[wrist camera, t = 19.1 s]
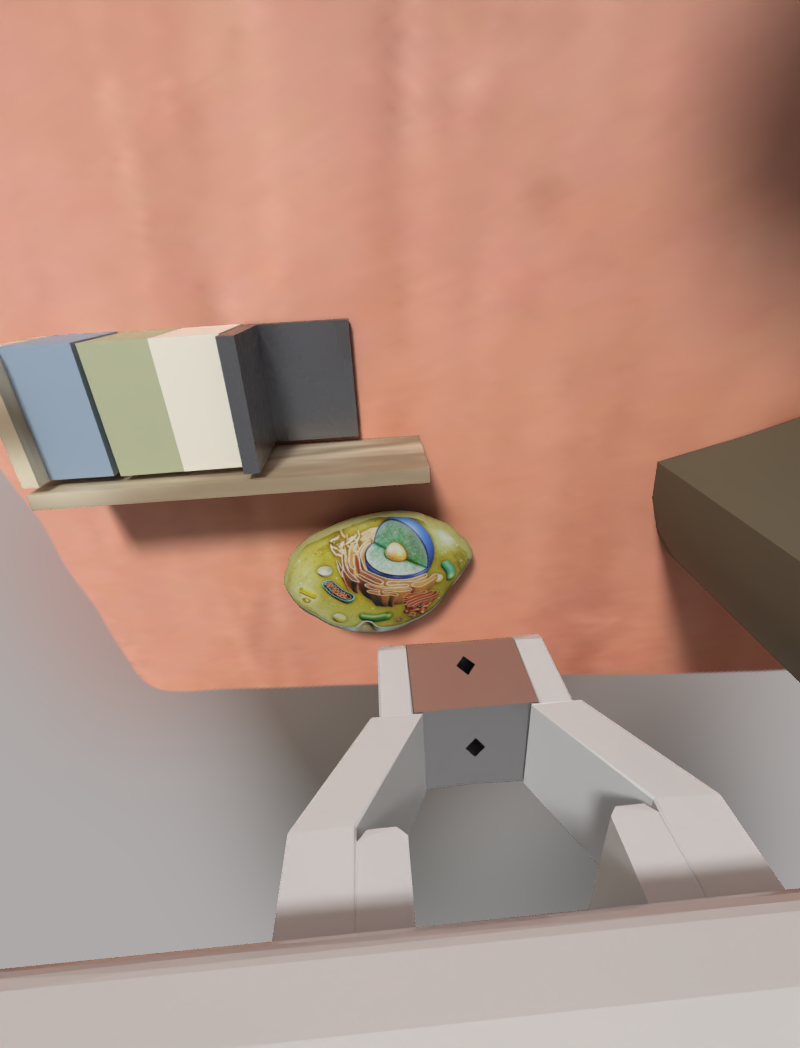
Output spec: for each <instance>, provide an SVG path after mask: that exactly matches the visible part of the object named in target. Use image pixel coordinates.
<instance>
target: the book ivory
mask: <svg viewBox="0 0 800 1048" xmlns="http://www.w3.org/2000/svg"><path fill="white" fill-rule="evenodd" d="M241 325H242V324H234V325H220V326H206V327H192V328H181V329H178V330H174V331H171V332H168V333H165V334H161V335H158V336H155V337H151V338H148V339H147V340H148V344H149V348H150V351H151V355H152V358H153V362H154V365H155V369H156V372H157V376H158V379H159V383H160V386H161V390H162V394H163V397H164V401H165V404H166V408H167V411H168V415H169V418H170V422H171V425H172V429H173V433H174V436H175V440H176V443H177V447H178V450H179V454H180V457H181V461H182V464H183V468H184V472H186V471H198V470H211V469H223V468H236V467H242V463H241V458H240V453H239V448H238V444H237V439H236V434H235V429H234V425H233V420H232V415H231V410H230V406H229V401H228V396H227V391H226V386H225V382H224V377H223V372H222V367H221V363H220V358H219V353H218V348H217V344H216V339H215V336H218V335H220V334H223V333H225V332H227V331H230V330H232V329H234V328H237V327H239V326H241Z"/></svg>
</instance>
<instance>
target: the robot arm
mask: <svg viewBox="0 0 800 1048" xmlns="http://www.w3.org/2000/svg"><path fill="white" fill-rule="evenodd" d="M378 685H379V716H380V717H375V718H371V719H370V720H369V722H368V723H367V724H366V726H365V727H364V728H363V730H362V731H361V733H360V734H359V736H358V737H357V738H356V740H355V741H354V742H353V744H352V745H351V747H350V748H349V749H348V751H347V752H346V754H345V755H344V756H343V758H342V759H341V760H340V762H339V763H338V765H337V766H336V767H335V769H334V770H333V772H332V773H331V774H330V776H329V777H328V778H327V780H326V781H325V783H324V784H323V785H322V787H321V788H320V790H319V791H318V792H317V794H316V795H315V796H314V798H313V799H312V801H311V802H310V803H309V805H308V806H307V808H306V809H305V810H304V812H303V813H302V815H301V816H300V817H299V819H298V820H297V822H296V823H295V824H294V826H293V827H292V828H291V830H290V831H289V833H288V835H287V842H286V849H285V856H284V863H283V869H282V876H281V883H280V891H279V897H278V905H277V911H276V918H275V925H274V932H273V939H272V942H263V943H254V944H244V945H234V946H224V947H214V948H204V949H194V950H185V951H174V952H165V953H155V954H145V955H135V956H126V957H115V958H106V959H95V960H86V961H76V962H66V963H56V964H46V965H37V966H26V967H16V968H6V969H0V1048H800V888H799V889H788V890H785V889H784V887H783V886H782V885H781V883H780V881H779V880H778V879H777V877H776V876H775V874H774V872H773V871H772V870H771V868H770V867H769V865H768V864H767V862H766V861H765V859H764V858H763V856H762V855H761V853H760V852H759V851H758V849H757V848H756V846H755V845H754V843H753V842H752V840H751V839H750V837H749V836H748V834H747V833H746V831H745V830H744V829H743V827H742V826H741V824H740V823H739V821H738V820H737V818H736V817H735V815H734V814H733V812H732V811H731V809H730V808H729V806H728V805H727V804H726V802H725V801H724V799H723V798H722V796H721V795H720V794H719V793H717V792H716V791H715V790H713V789H711V788H710V787H708V786H707V785H706V784H704V783H703V782H701V781H700V780H698V779H697V778H695V777H694V776H693V775H691V774H690V773H688V772H686V771H685V770H684V769H682V768H681V767H679V766H678V765H676V764H675V763H673V762H672V761H671V760H669V759H668V758H666V757H665V756H663V755H662V754H660V753H659V752H657V751H656V750H654V749H653V748H651V747H650V746H649V745H647V744H646V743H644V742H643V741H641V740H640V739H638V738H637V737H635V736H634V735H632V734H631V733H629V732H628V731H626V730H625V729H624V728H622V727H620V726H619V725H618V724H616V723H615V722H613V721H612V720H610V719H609V718H607V717H606V716H604V715H603V714H601V713H600V712H599V711H597V710H596V709H594V708H593V707H591V706H590V705H588V704H587V703H585V702H584V701H582V700H572V698H571V695H570V694H569V691H568V690H567V687H566V686H565V683H564V681H563V679H562V677H561V675H560V673H559V671H558V669H557V667H556V665H555V663H554V661H553V659H552V657H551V655H550V653H549V651H548V649H547V647H546V645H545V643H544V641H543V639H542V637H541V636H540V635H538V634H531V635H521V636H511V638H510V637H505V638H494V639H483V640H472V641H461V642H445V643H427V644H410V645H406V647H405V646H404V645H402V646H385V647H378ZM522 780H524V782H523V783H524V784H525V785H526V786H527V788H529V789H530V791H531V792H532V793H533V794H534V795H535V796H536V797H537V798H538V800H539V801H540V802H541V803H542V804H543V805H544V806H545V807H546V808H547V809H548V810H549V812H550V813H551V814H552V815H553V816H554V817H555V818H556V819H557V820H558V821H559V822H560V824H561V825H563V827H564V828H565V829H566V830H567V831H568V832H569V833H570V834H571V835H572V836H573V838H574V839H575V840H576V841H577V842H578V843H579V844H580V845H581V846H582V847H583V849H584V850H585V851H586V852H587V853H588V854H589V855H590V856H591V857H592V858H593V859H594V861H595V862H596V863H597V864H598V865H599V867H598V871H597V876H596V879H595V883H594V887H593V892H592V896H591V900H590V904H589V908H588V910H579V911H569V912H560V913H550V914H541V915H540V914H539V915H530V916H520V917H510V918H500V919H490V920H481V921H471V922H461V923H452V924H442V925H432V926H422V927H416V926H415V913H414V901H413V890H412V879H411V867H410V855H409V843H408V833H409V831H410V828H411V826H412V824H413V822H414V819H415V817H416V815H417V813H418V810H419V808H420V806H421V803H422V801H423V799H424V796H425V794H426V789H433V788H442V787H450V786H457V785H466V784H474V783H491V782H507V781H522Z"/></svg>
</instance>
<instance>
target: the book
mask: <svg viewBox="0 0 800 1048" xmlns="http://www.w3.org/2000/svg"><path fill="white" fill-rule="evenodd" d="M652 499H653V506H654V513H655V520H656V527H657V530H658V532H659V534H660V536H661V538H662V540H663V542H664V544H665V546H666V548H667V550H668V552H669V554H670V555H671V556H672V557H673V558H674V559H675V560H676V561H677V562H678V563H679V564H680V565H681V566H682V567H683V568H684V569H685V570H686V571H687V572H688V573H689V574H690V575H691V576H692V577H694V578H695V579H696V580H697V581H698V582H699V583H700V584H701V585H702V586H703V587H704V588H705V589H706V590H707V591H708V592H709V593H710V594H711V595H712V596H713V597H714V598H715V599H716V600H717V601H718V602H719V603H720V604H721V605H722V606H723V607H724V608H725V609H726V610H727V611H728V612H729V613H730V614H731V615H732V616H733V617H734V618H735V619H736V620H737V621H738V622H739V623H740V624H741V625H742V626H743V627H744V628H745V629H746V630H747V631H748V632H749V633H750V634H751V635H752V636H753V637H754V638H755V639H756V640H757V641H758V642H759V643H760V644H761V645H762V646H763V647H764V648H765V649H766V650H768V651H769V652H770V653H771V654H772V655H773V656H774V657H775V658H776V659H777V660H778V661H779V662H780V663H781V664H782V665H783V666H784V667H785V668H786V669H787V670H788V671H789V672H790V673H791V674H792V675H793V676H794V677H795V678H796V679H797V680H798V681H799V682H800V418H797V419H794V420H791V421H788V422H785V423H782V424H779V425H776V426H773V427H770V428H767V429H764V430H761V431H758V432H756V433H753V434H750V435H747V436H743V437H740V438H736V439H733V440H730V441H726V442H723V443H720V444H716V445H713V446H710V447H706V448H703V449H700V450H696V451H693V452H689V453H686V454H683V455H679V456H676V457H673V458H669V459H666V460H663V461H659V462H658V463H657V470H656V477H655V484H654V490H653V497H652Z"/></svg>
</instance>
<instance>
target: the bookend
mask: <svg viewBox="0 0 800 1048" xmlns="http://www.w3.org/2000/svg"><path fill="white" fill-rule="evenodd" d="M215 339H216V344H217V348H218V353H219V358H220V363H221V367H222V372H223V377H224V382H225V386H226V391H227V396H228V401H229V406H230V410H231V415H232V420H233V425H234V429H235V434H236V439H237V444H238V448H239V453H240V458H241V463H242V468H243V472H244V474H258V473H261V471H262V469H263V467H264V465H265V463H266V461H267V460H268V458H269V456H270V454H271V452H272V450H273V448H274V446H275V444H276V442H280V441H295V440H310V439H325V438H339V437H354V436H359V432H358V421H357V410H356V399H355V388H354V377H353V366H352V355H351V344H350V333H349V322H348V318H347V319H331V320H314V321H297V322H280V323H263V324H246V325H241V326H239V327H237V328H234V329H232V330H230V331H227V332H225V333H223V334H220V335H218V336H215Z"/></svg>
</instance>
